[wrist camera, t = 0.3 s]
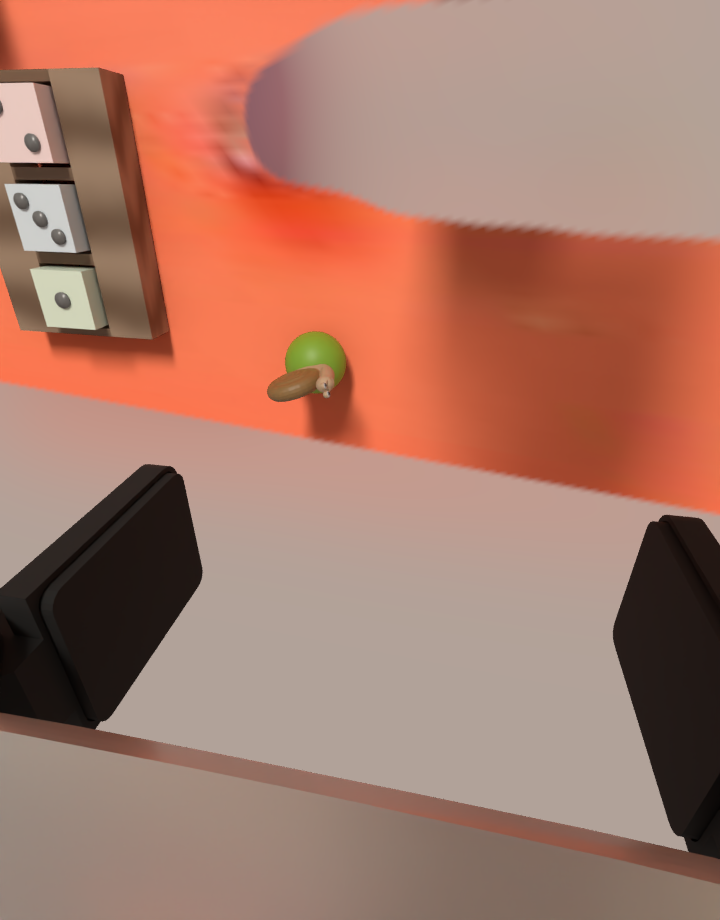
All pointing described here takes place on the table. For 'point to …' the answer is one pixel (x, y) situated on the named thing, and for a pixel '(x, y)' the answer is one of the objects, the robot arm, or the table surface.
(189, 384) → the table surface
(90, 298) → the cream knobbed tile
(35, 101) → the two dot tile
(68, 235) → the three dot tile
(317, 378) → the snail figurine
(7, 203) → the counting board
